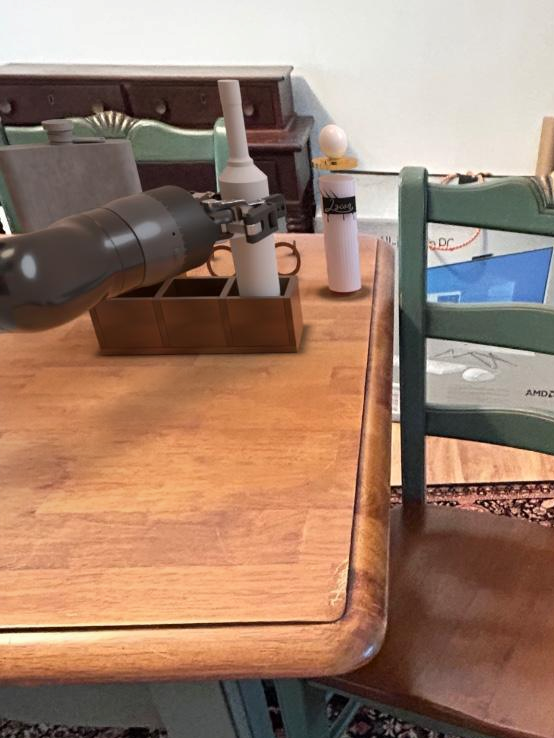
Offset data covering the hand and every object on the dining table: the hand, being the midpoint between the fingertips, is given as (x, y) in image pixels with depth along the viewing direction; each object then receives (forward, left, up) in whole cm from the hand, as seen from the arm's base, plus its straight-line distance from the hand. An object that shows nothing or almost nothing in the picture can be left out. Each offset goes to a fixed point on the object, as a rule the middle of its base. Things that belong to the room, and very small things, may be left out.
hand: (261, 201), depth 82 cm
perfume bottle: (+7, +15, -15) cm, 22 cm away
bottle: (-1, -2, -14) cm, 14 cm away
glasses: (-7, +26, -15) cm, 31 cm away
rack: (-9, -2, -15) cm, 17 cm away
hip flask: (-27, +18, -15) cm, 35 cm away
